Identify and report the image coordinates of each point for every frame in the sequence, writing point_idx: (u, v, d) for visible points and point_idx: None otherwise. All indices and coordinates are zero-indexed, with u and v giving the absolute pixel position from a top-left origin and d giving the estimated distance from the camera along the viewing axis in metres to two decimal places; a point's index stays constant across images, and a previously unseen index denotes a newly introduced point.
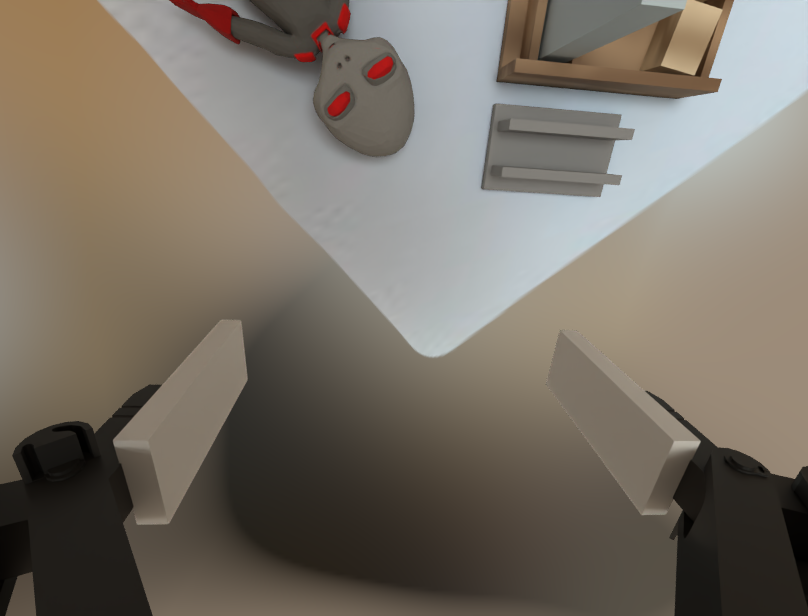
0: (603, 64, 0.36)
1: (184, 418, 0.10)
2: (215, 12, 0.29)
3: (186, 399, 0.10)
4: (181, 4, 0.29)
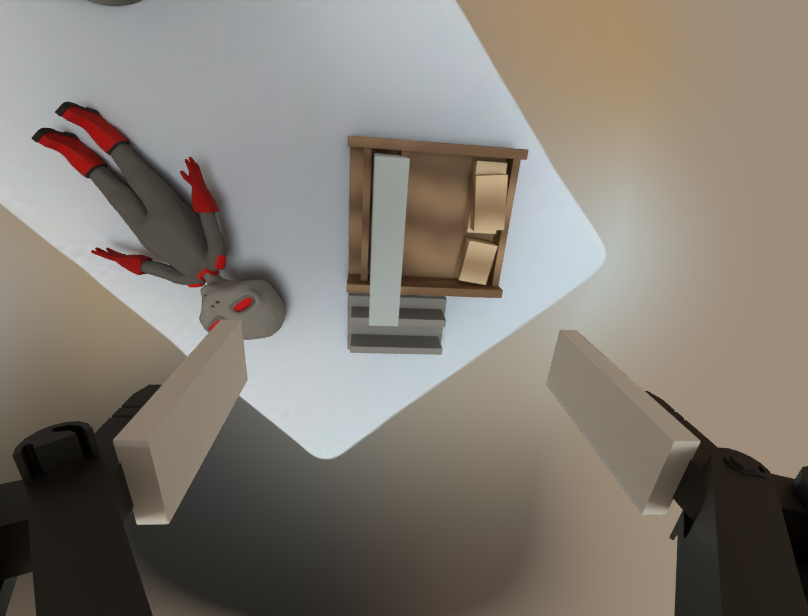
0: (425, 269, 0.48)
1: (184, 418, 0.10)
2: (128, 263, 0.42)
3: (186, 399, 0.10)
4: None
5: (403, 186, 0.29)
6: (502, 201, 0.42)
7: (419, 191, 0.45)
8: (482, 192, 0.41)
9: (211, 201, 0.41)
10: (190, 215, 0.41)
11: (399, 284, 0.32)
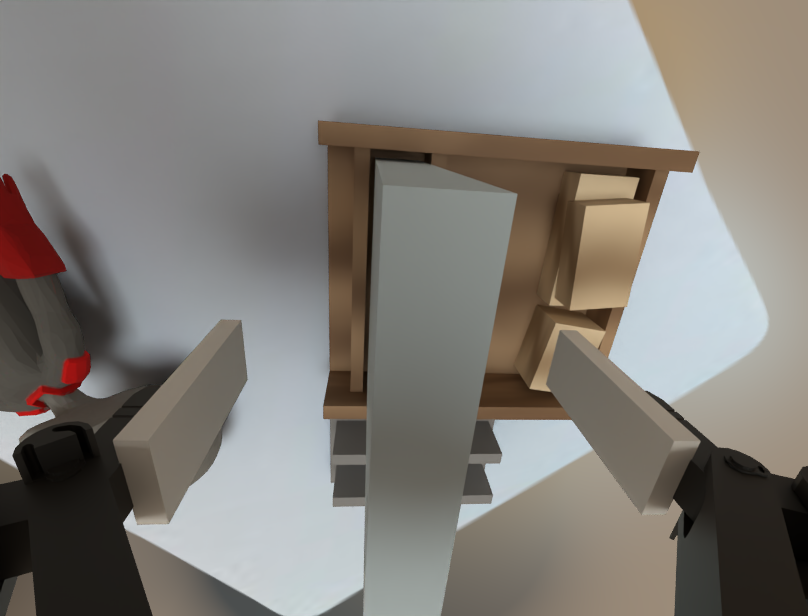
0: None
1: (184, 418, 0.10)
2: None
3: (186, 399, 0.10)
4: None
5: (483, 290, 0.08)
6: (631, 254, 0.21)
7: None
8: (594, 238, 0.20)
9: (40, 254, 0.20)
10: (2, 282, 0.20)
11: (449, 541, 0.11)
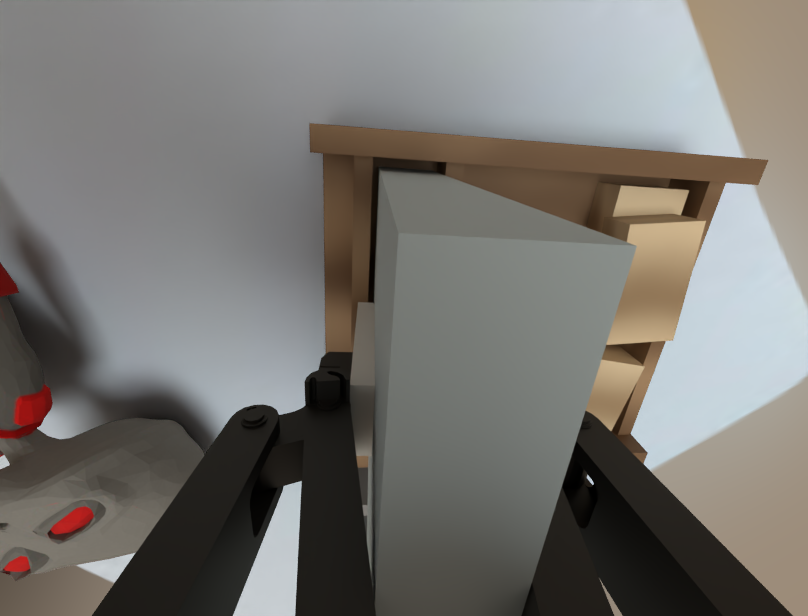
0: None
1: None
2: None
3: None
4: None
5: (561, 399, 0.05)
6: (681, 281, 0.18)
7: None
8: (638, 262, 0.17)
9: None
10: None
11: None
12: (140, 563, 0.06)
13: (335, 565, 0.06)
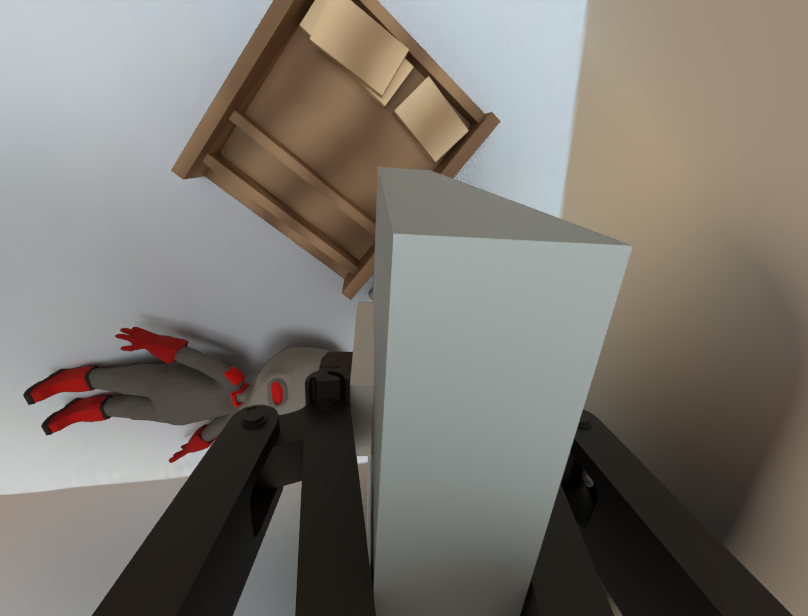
0: None
1: None
2: (193, 446, 0.39)
3: None
4: None
5: (558, 398, 0.05)
6: (367, 23, 0.26)
7: (301, 132, 0.32)
8: (337, 45, 0.26)
9: (170, 341, 0.35)
10: (176, 368, 0.37)
11: None
12: (140, 563, 0.06)
13: (335, 565, 0.06)
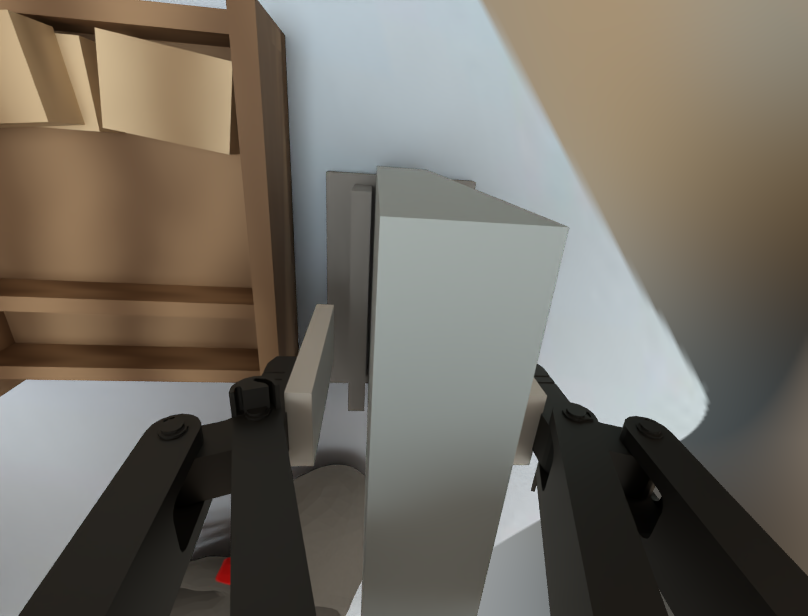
0: None
1: (319, 381, 0.12)
2: None
3: (320, 365, 0.12)
4: None
5: (516, 353, 0.06)
6: None
7: (68, 249, 0.20)
8: None
9: None
10: None
11: None
12: (43, 599, 0.06)
13: (272, 581, 0.06)
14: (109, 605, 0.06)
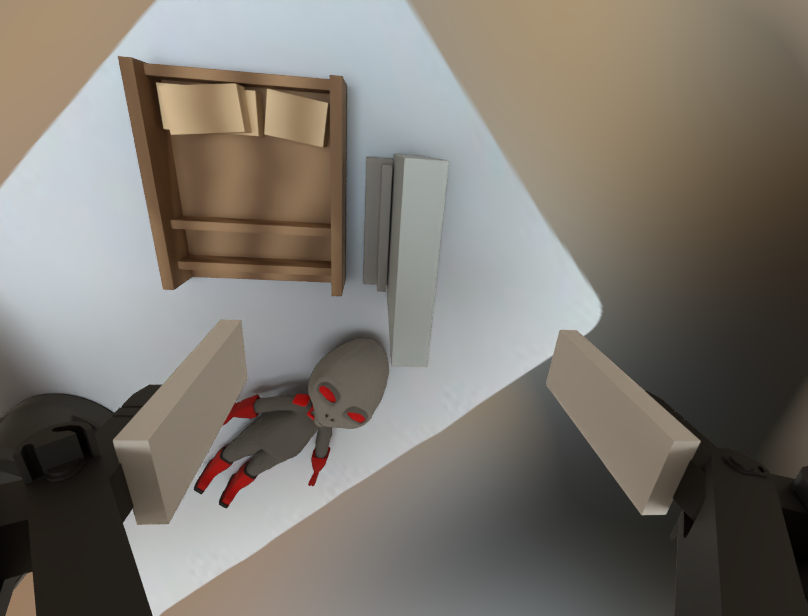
0: (324, 188, 0.37)
1: (184, 418, 0.10)
2: (316, 466, 0.46)
3: (186, 399, 0.10)
4: (316, 478, 0.48)
5: (439, 196, 0.23)
6: (196, 90, 0.30)
7: (226, 199, 0.37)
8: (190, 123, 0.31)
9: (246, 402, 0.43)
10: (264, 418, 0.44)
11: (430, 317, 0.26)
12: None
13: None
14: None
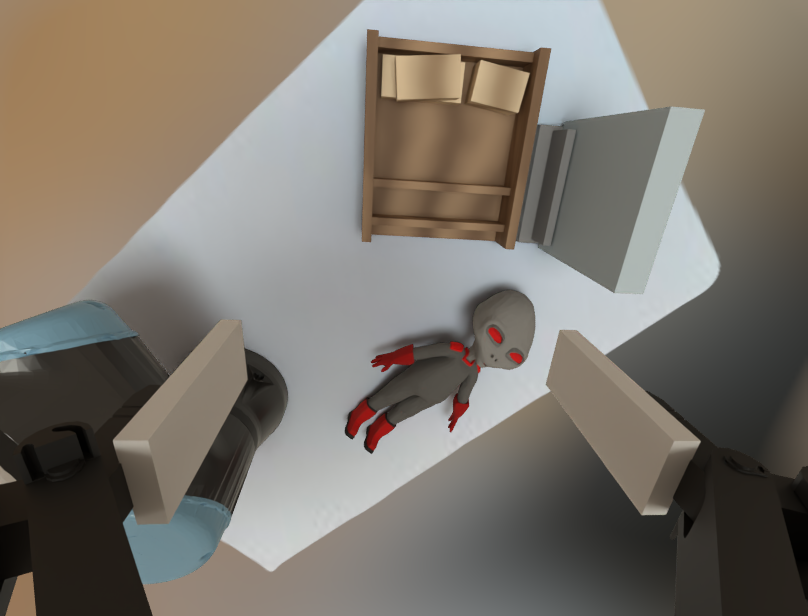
0: (499, 153, 0.42)
1: (184, 418, 0.10)
2: (459, 411, 0.51)
3: (186, 399, 0.10)
4: None
5: (689, 140, 0.27)
6: (426, 60, 0.34)
7: (413, 162, 0.42)
8: (415, 89, 0.35)
9: (404, 350, 0.48)
10: (417, 365, 0.49)
11: (656, 248, 0.30)
12: None
13: None
14: None
